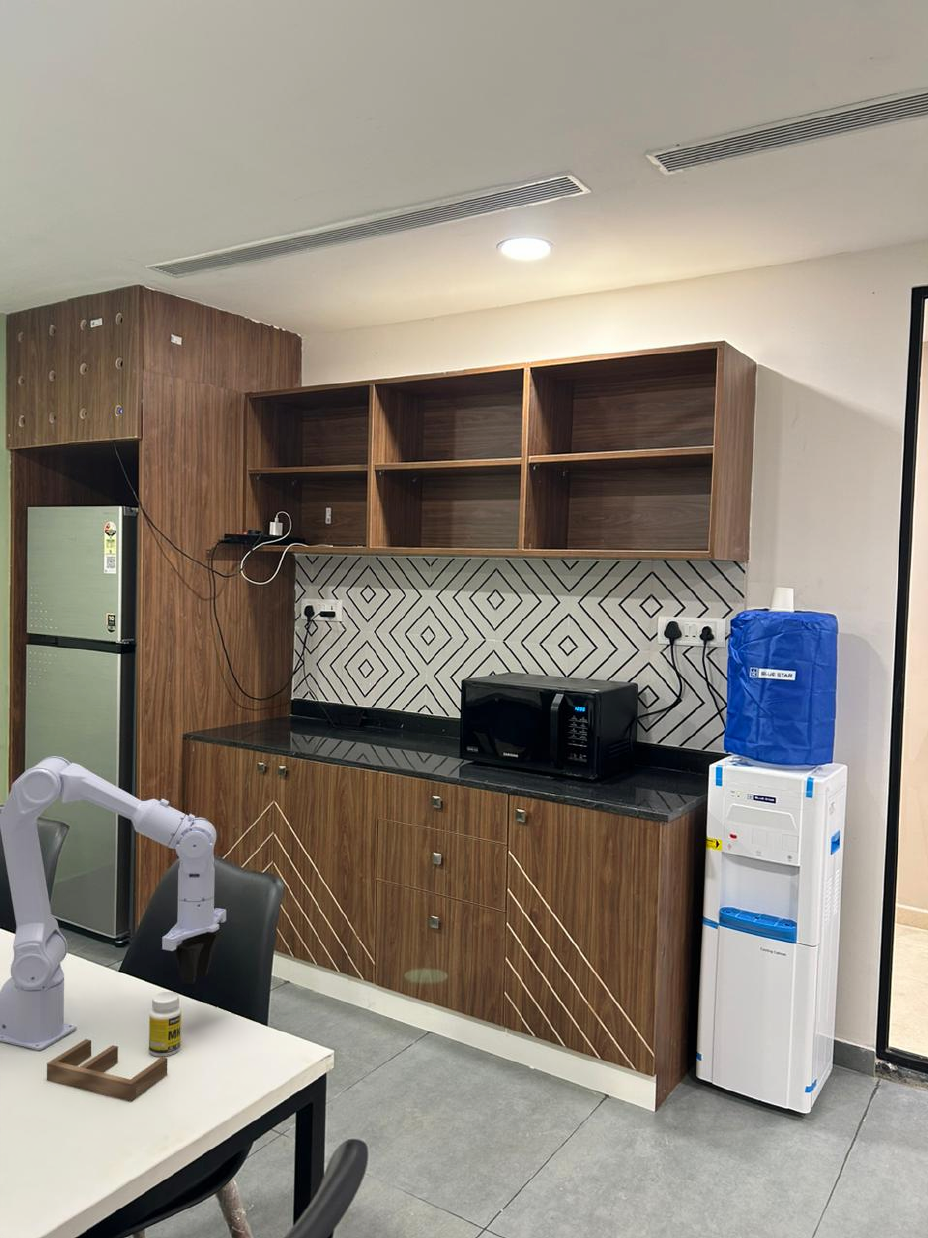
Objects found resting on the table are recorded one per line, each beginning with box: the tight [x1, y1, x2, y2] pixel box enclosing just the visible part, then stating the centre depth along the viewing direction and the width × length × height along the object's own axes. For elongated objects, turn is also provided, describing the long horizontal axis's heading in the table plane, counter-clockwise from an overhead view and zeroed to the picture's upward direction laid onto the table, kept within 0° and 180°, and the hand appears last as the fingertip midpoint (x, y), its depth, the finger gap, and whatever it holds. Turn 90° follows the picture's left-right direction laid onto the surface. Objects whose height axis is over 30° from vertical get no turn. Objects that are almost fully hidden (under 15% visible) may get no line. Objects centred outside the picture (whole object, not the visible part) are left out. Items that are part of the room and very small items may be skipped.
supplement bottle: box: [148, 991, 182, 1057], centre depth 149 cm, size 5×5×8 cm
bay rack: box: [46, 1038, 168, 1103], centre depth 140 cm, size 15×8×2 cm, turn 70°
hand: (194, 978), depth 156 cm, fingers open, 3 cm apart
